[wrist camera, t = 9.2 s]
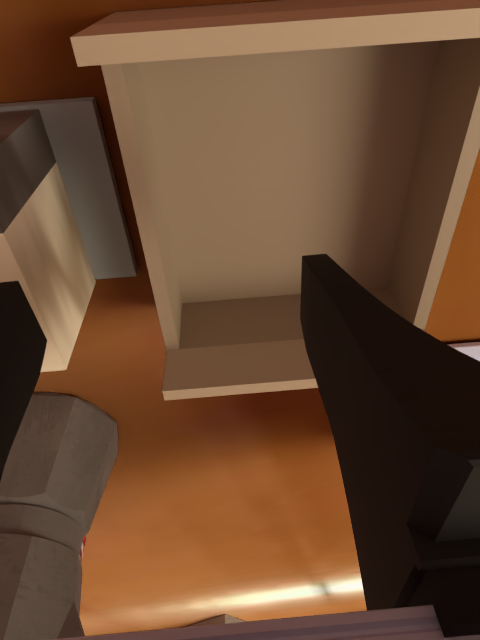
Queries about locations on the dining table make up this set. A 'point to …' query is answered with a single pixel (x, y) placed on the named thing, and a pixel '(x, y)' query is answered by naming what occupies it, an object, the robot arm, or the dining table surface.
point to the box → (41, 235)
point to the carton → (287, 165)
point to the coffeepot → (50, 513)
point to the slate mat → (87, 181)
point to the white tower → (218, 621)
